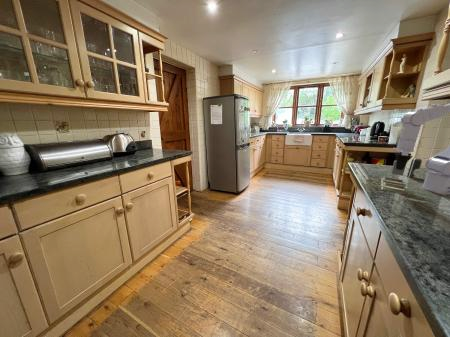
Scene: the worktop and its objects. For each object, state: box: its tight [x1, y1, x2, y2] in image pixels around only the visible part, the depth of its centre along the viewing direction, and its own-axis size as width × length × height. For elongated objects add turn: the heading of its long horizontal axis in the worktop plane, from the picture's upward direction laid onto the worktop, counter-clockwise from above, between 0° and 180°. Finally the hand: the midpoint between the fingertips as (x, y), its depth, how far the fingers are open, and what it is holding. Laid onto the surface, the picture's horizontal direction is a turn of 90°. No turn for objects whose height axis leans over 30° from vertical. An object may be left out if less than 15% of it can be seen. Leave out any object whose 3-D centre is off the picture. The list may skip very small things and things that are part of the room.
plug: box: [390, 159, 408, 176], centre depth 88 cm, size 4×4×6 cm
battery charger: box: [406, 157, 423, 179], centre depth 106 cm, size 7×4×11 cm, turn 129°
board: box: [380, 176, 410, 196], centre depth 92 cm, size 21×10×2 cm, turn 141°
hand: (399, 168), depth 88 cm, fingers closed on plug, 4 cm apart
